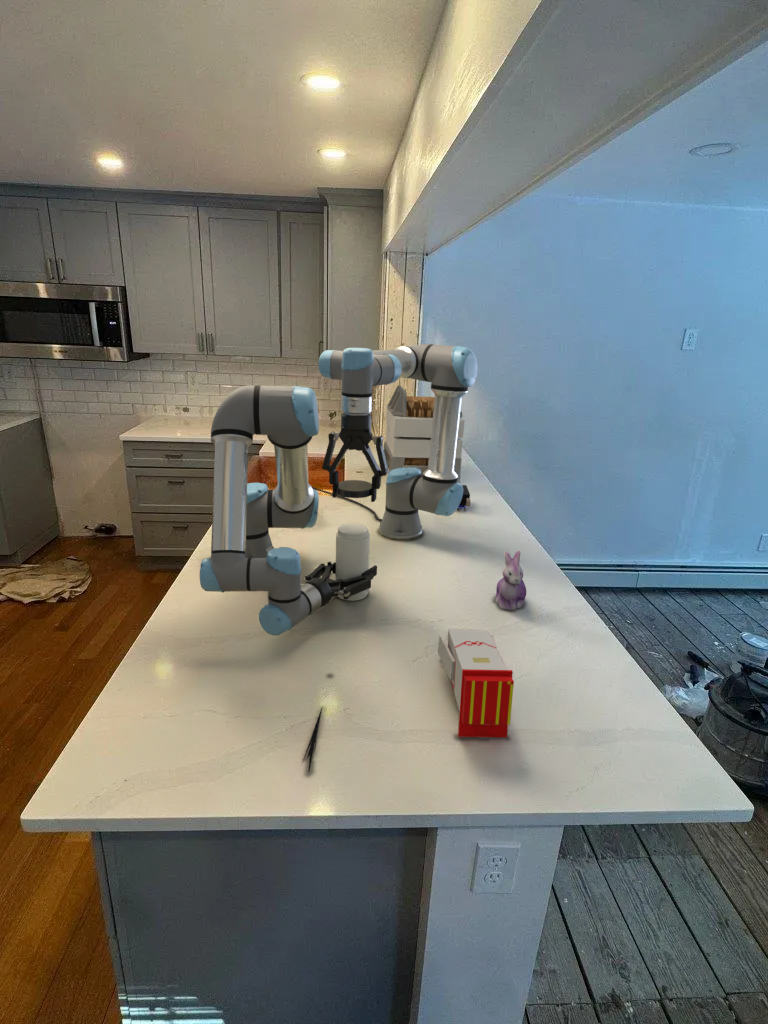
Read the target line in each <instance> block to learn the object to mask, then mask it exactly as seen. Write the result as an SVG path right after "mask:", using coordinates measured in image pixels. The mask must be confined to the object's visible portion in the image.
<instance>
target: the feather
mask: <svg viewBox="0 0 768 1024" xmlns="http://www.w3.org/2000/svg"><path fill="white" fill-rule="evenodd" d="M329 675H330V676H331V675H332V674H331V673H330V674H329ZM322 710H323V707H321V708H320V710H319V713H318V716H317V719H316V723H315V725H314V728H313V731H312V733H311V737H310V739H309V742H308V745H307V748H306V751H305V754H304V757H303V760H302V763H301V767H302V765H303V763H304V761H305V758H308V759H309V760H308V762H307V763H308V764H307V766H308V771H310V770H311V766H312V765H311V764H312V760H313V757H315V756H314V755H315V751H316V749H315V746H317V739H318V733H319V729H320V722H321V717H322V712H323V711H322ZM313 754H314V755H313ZM306 755H307V757H306Z"/></svg>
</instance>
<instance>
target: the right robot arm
mask: <svg viewBox="0 0 768 1024" xmlns="http://www.w3.org/2000/svg"><path fill="white" fill-rule="evenodd" d="M318 371H319V373H320V375H321V376H322V377H323V378H325V379H329V380H332V381H333V380H337V381H341V402H340V405H341V408H340V409H341V410H340V411H341V412H342V413H341V414H340V431H339V432H335V431H332V432H330V433H328V436H327V437H328V444H327V447H326V451H325V455H324V459H323V461H322V465H321V469H322V470H324V471H327V472H328V478H329V479H328V483H329V485H332V492H331V491H327V490H323V489H320V488H317V487H314V486H311V487H312V489H314V490H317V491H318V492H321V493H324V494H328V495H331V496H332V498H335V499H336V498H341V499H344V500H346V501H349V502H352V503H354V504H356V505H359V506H360V507H363V508H365V509H366V510H368V511H370V513H372V514H373V515H374V517H375V519H376V520H377V521H379V526H378V533H379V534H380V535H381V536H382V537H385V538H387V539H389V540H395V541H410V540H415V539H418V538H420V537H421V536H422V535H423V525H422V524H421V518H420V515H419V511H423V512H426V513H431V514H433V515H435V516H443V517H450V516H452V515H453V514H454V513H456V511H458V510H457V508H458V509H459V507H458V506H459V504H460V502H461V499H462V496H463V486H462V485H463V484H462V483H461V482H459V483H457V480H458V475H457V474H456V473H455V471H454V466H455V457H456V448H457V439H458V430H459V421H460V412H462V403H463V402H462V401H463V398H464V396H465V395H466V394H467V393H468V391H469V388H471V387H473V386H474V384H475V383H476V379H477V375H478V361H477V357H476V355H475V353H474V351H473V350H472V349H471V348H469V347H466V346H461V345H460V346H459V345H446V344H433V343H421V344H420V343H419V344H413V345H402V346H398V347H396V348H395V349H375V350H373V349H371V348H367V347H346V348H344V349H343V350H336V349H328V350H327V349H326V350H324V351H323V352H321V354H320V356H319V358H318ZM399 379H411V380H416V381H420V382H427V383H430V390H431V391H432V392H433V394H434V397H435V400H434V411H433V421H432V431H431V442H430V452H429V462H428V466H427V468H426V470H424V471H423V472H422V470H421V468H418V467H404V468H398V469H394V470H391V471H390V470H389V467H387V462H386V458H385V453H384V436H383V435H373V433H372V414H371V413H372V411H373V410H372V409H373V407H372V406H373V401H372V400H373V387H377V386H388V385H390V384H393V383H395V382H396V381H398V380H399ZM339 439H340V440H341V442H342V443H343V444H342V446H341V447H340V450H339V451H338V453H337V455H336V456H335V458H334V460H333V462H332V458H333V453H334V451H335V447H336V444H337V441H339ZM371 442H373V445H375V450H376V455H377V458H378V462H377V460H376V458H375V457H374V455H373V453H372V449H371V447H370V445H369V444H370V443H371ZM354 450H355V451H359V452H362V454H363V455H364V457H365V459H366V461H367V463H368V466H369V467H370V469H371V471H372V473H373V476H371V484H372V490H371V496H370V502H372V503H374V502H375V501H376V500H377V491H378V490H379V489H380V488H381V486H382V485H381V484H382V477H385V476H386V480H385V504H384V505H385V507H384V508H385V509H384V513H383V515H382V518H380V517H378V515H377V513H376V511H374V510H373V509H372V508H370V507H368V506H367V505H365V504H364V503H361V502H358V501H357V500H354V499H353V498H348V497H343V496H340V495H338V494H337V493H336V484H337V483H339V482H340V481H339V476H340V474H339V473H340V472H339V470H337V468H338V466H339V465H340V463H341V462H342V460H343V458H344V457H345V455H346V453H347V452H348V451H354ZM331 462H332V463H331ZM378 463H379V464H378Z"/></svg>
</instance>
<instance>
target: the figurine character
mask: <svg viewBox="0 0 768 1024" xmlns="http://www.w3.org/2000/svg"><path fill="white" fill-rule="evenodd" d="M461 485H462V486H463V496H462V499H461V502H460V504H459V506H458V508H457V510H456V511H459V510H460V509H463V511H465V512H466V511H467V508H466V507H468V508H470V507H471V493H470V491H469V488H468V486H467V485H466V484H461Z"/></svg>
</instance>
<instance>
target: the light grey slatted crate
mask: <svg viewBox="0 0 768 1024" xmlns="http://www.w3.org/2000/svg"><path fill="white" fill-rule="evenodd" d="M407 394H408V393H407V390H406V389H404V388H403V387H402V385H399V384H398V385H397V386H396V388H395V390H394V392H393V394H392V395H391V398H390V400H389V402H388V404H387V405H386V413H385V414H386V415H385V423H386V428H385V438H384V441H383V449H384V453H385V458H386V462H387V467H388V468H389V471H391V470H394V469H398V468H405V466H406V467H407V466H411V467H412V466H413V467H415V466H416V467H417V466H418V467H428V462H429V452H430V442H431V431H432V421H433V411H434V400H435V396H415V395H414V396H413V395H412V396H411V395H407ZM464 429H465V419H464V418H463V411H461V412H460V421H459V430H458V439H457V448H456V457H455V466H454V471H455V473H456V474H457V475H458V480H457V483H461V472H462V461H463V460H462V453H463V442H464V441H463V440H462V439H463V438H464V431H465V430H464Z"/></svg>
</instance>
